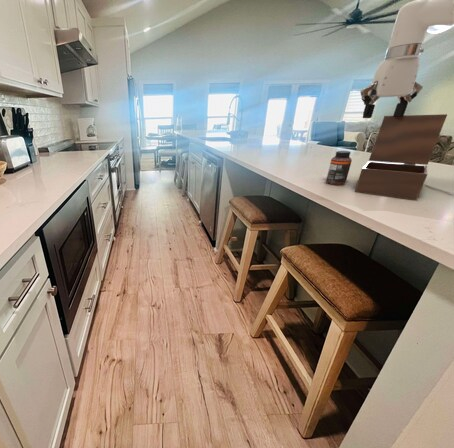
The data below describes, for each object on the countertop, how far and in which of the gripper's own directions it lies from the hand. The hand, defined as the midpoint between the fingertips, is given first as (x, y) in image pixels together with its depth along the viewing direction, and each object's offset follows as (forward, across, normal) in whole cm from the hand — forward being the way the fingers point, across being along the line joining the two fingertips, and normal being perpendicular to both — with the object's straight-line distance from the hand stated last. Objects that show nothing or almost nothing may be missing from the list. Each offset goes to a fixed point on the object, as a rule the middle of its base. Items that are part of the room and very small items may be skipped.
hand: (382, 117), depth 79 cm
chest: (+22, 0, +10) cm, 24 cm away
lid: (+7, -7, +3) cm, 10 cm away
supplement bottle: (+22, +10, 0) cm, 24 cm away
